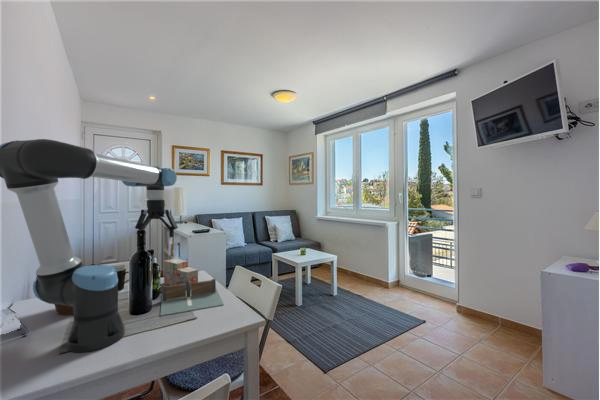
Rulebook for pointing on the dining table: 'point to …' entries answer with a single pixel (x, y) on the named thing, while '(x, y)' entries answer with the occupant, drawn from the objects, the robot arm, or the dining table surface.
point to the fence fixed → (176, 291)
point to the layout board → (190, 303)
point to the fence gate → (203, 287)
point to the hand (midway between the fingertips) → (156, 243)
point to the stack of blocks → (179, 272)
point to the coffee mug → (121, 277)
